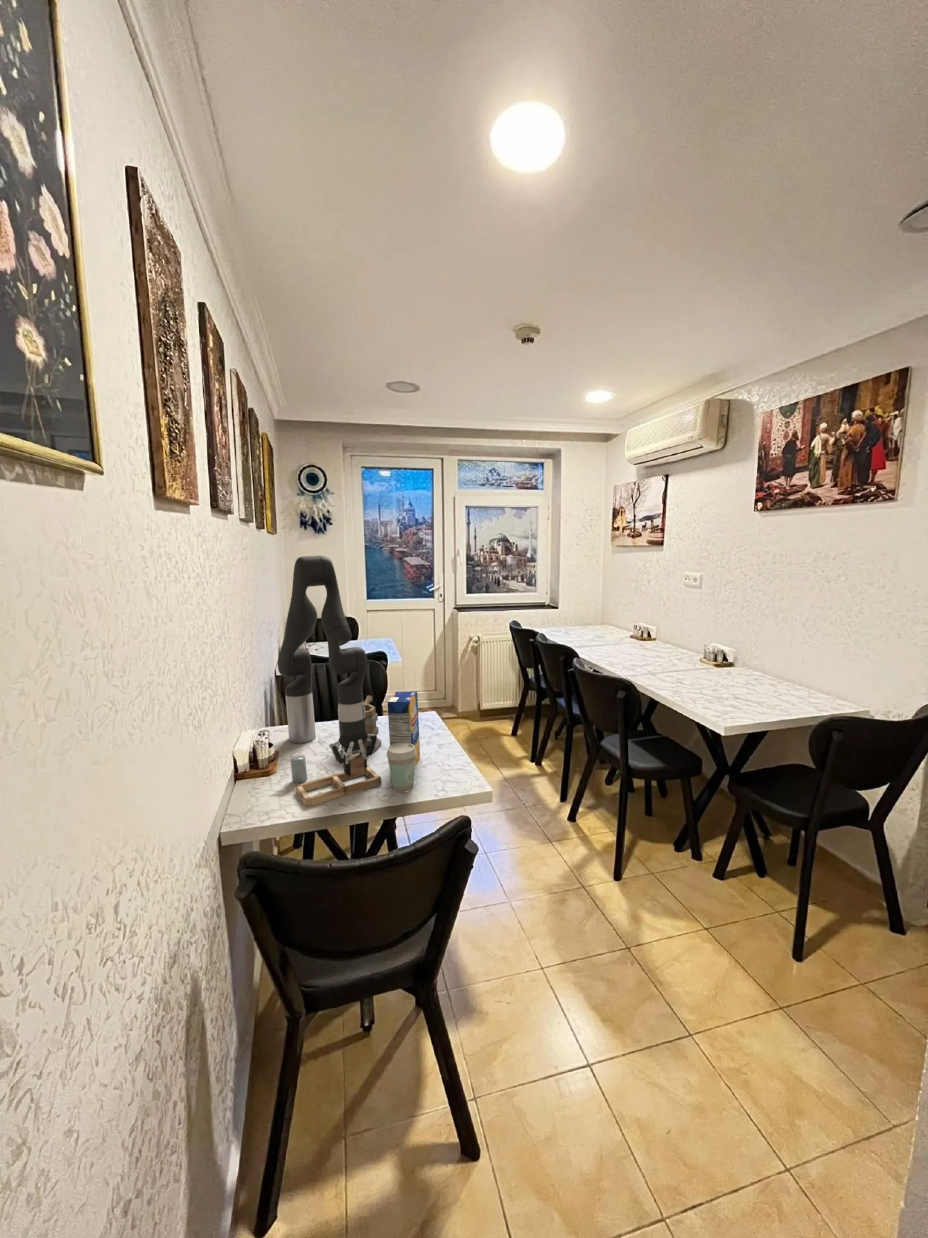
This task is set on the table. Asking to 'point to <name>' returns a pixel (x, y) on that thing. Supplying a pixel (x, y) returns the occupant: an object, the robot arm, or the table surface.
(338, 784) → the frame
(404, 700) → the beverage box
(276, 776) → the table surface
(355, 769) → the walnut block
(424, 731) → the table surface
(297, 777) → the grey shaker
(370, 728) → the tankard
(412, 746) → the coffee cup
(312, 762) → the table surface
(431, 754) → the table surface
